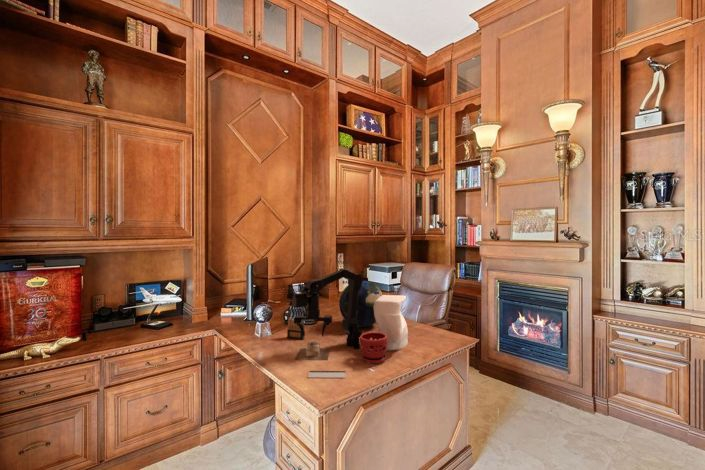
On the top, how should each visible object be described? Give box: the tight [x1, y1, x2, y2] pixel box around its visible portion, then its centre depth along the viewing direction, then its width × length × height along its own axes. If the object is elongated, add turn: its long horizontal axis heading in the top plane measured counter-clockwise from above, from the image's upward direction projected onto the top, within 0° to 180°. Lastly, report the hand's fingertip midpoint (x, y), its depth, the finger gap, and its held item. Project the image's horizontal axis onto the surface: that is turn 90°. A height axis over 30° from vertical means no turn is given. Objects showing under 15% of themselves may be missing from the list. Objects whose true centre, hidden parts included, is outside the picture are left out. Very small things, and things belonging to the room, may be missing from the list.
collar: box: [305, 341, 321, 356], centre depth 165 cm, size 6×6×5 cm
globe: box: [338, 280, 384, 328], centre depth 217 cm, size 30×30×30 cm
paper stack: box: [374, 294, 409, 351], centre depth 179 cm, size 21×27×26 cm
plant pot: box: [359, 331, 387, 364], centre depth 160 cm, size 13×13×12 cm
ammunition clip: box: [286, 317, 305, 341], centre depth 192 cm, size 11×2×12 cm, turn 69°
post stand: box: [294, 341, 331, 361], centre depth 165 cm, size 16×16×7 cm
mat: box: [307, 370, 347, 379], centre depth 147 cm, size 16×14×1 cm
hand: (313, 336), depth 165 cm, fingers open, 9 cm apart
